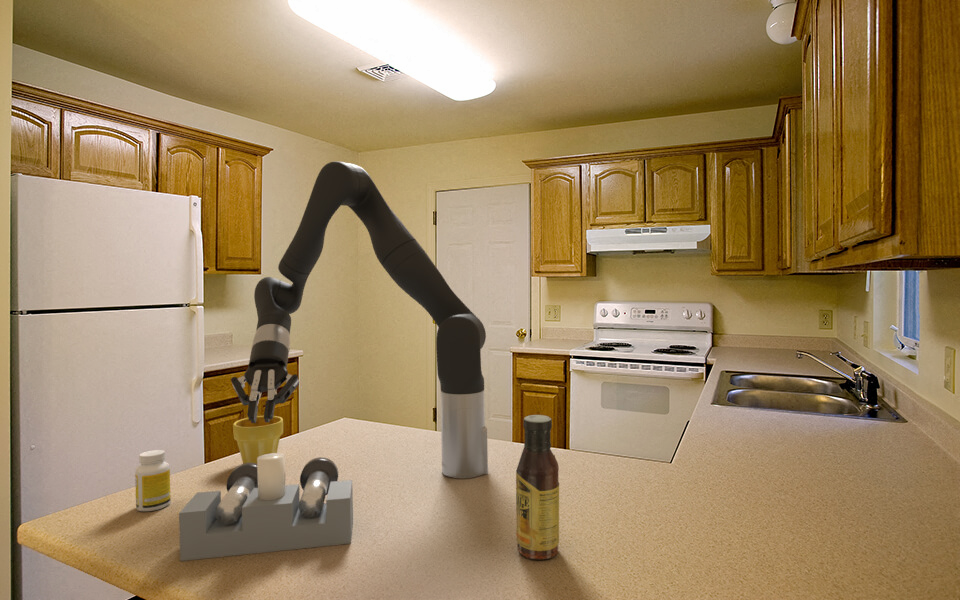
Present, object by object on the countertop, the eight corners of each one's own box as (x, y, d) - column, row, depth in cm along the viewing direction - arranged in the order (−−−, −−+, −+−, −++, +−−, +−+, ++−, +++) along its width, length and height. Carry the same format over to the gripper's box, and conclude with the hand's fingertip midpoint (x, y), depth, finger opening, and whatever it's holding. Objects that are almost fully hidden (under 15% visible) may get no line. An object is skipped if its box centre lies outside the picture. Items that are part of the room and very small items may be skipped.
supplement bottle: (177, 502, 100) (176, 449, 100) (151, 514, 95) (149, 458, 95) (155, 499, 102) (154, 447, 101) (128, 510, 97) (127, 456, 96)
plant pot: (266, 472, 115) (265, 427, 115) (223, 470, 117) (222, 425, 117) (292, 457, 126) (291, 416, 125) (253, 455, 128) (252, 414, 127)
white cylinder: (287, 489, 86) (286, 452, 86) (283, 498, 82) (282, 459, 82) (261, 491, 86) (260, 454, 85) (255, 501, 82) (254, 461, 82)
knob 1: (268, 497, 95) (267, 461, 95) (250, 531, 82) (249, 490, 81) (230, 500, 94) (229, 464, 94) (205, 536, 80) (203, 493, 80)
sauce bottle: (513, 543, 82) (511, 412, 81) (554, 540, 82) (552, 411, 82) (520, 565, 75) (518, 423, 75) (564, 562, 76) (562, 421, 75)
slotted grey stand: (353, 521, 90) (352, 479, 90) (351, 543, 82) (350, 498, 82) (198, 536, 86) (197, 492, 86) (180, 561, 78) (178, 513, 78)
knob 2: (338, 491, 98) (338, 456, 97) (332, 524, 84) (331, 483, 84) (301, 494, 96) (301, 458, 96) (289, 528, 83) (288, 486, 82)
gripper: (232, 340, 112) (217, 412, 100) (301, 337, 115) (294, 407, 103) (239, 362, 117) (225, 433, 106) (305, 359, 120) (299, 428, 108)
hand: (259, 420), depth 104 cm, fingers closed
